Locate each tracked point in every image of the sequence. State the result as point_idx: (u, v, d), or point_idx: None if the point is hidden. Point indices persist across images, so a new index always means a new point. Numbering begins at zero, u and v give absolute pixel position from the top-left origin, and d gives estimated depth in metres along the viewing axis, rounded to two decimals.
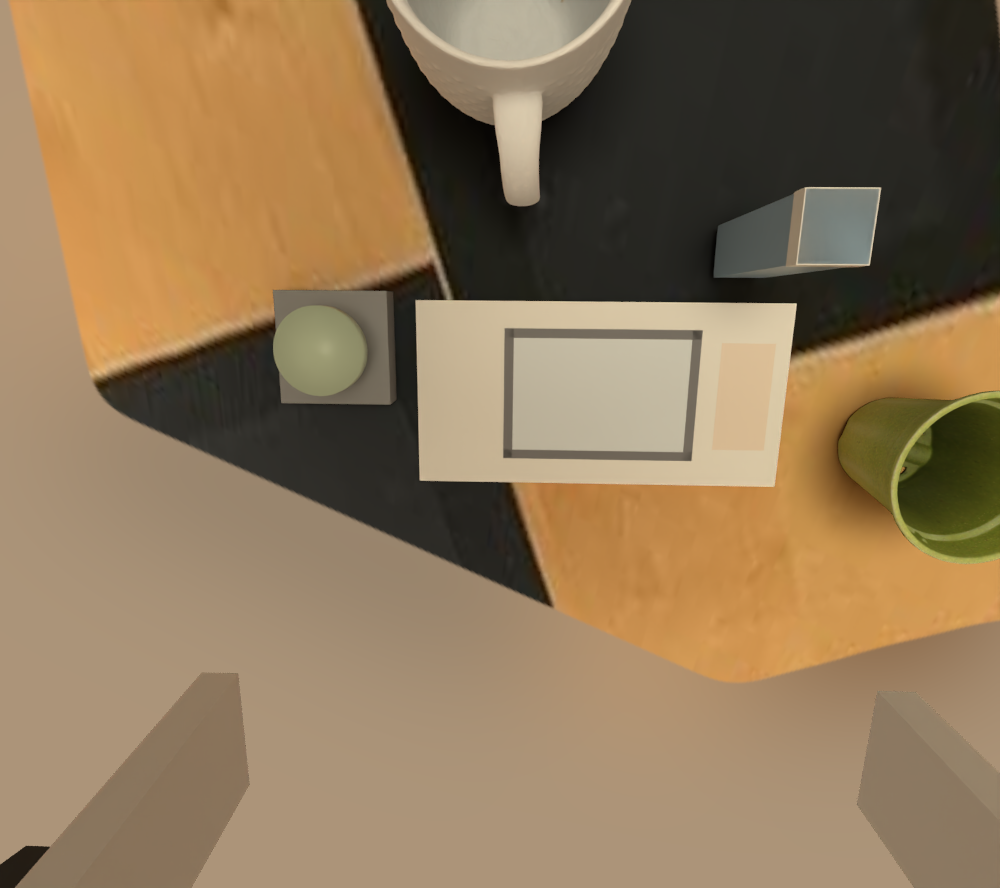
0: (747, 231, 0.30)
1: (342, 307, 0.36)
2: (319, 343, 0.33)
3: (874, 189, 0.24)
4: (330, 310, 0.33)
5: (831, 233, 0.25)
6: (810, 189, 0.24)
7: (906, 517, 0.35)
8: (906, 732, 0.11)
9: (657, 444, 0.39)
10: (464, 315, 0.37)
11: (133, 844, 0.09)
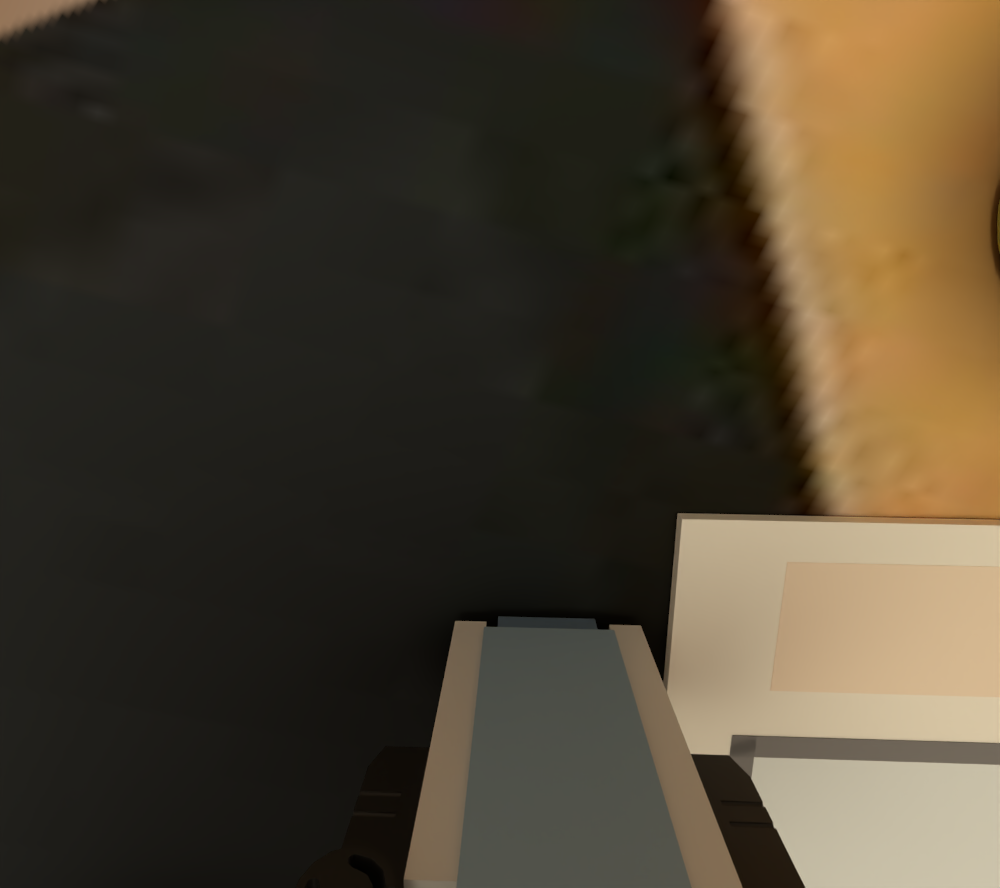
0: None
1: None
2: None
3: None
4: None
5: None
6: None
7: None
8: None
9: None
10: None
11: None
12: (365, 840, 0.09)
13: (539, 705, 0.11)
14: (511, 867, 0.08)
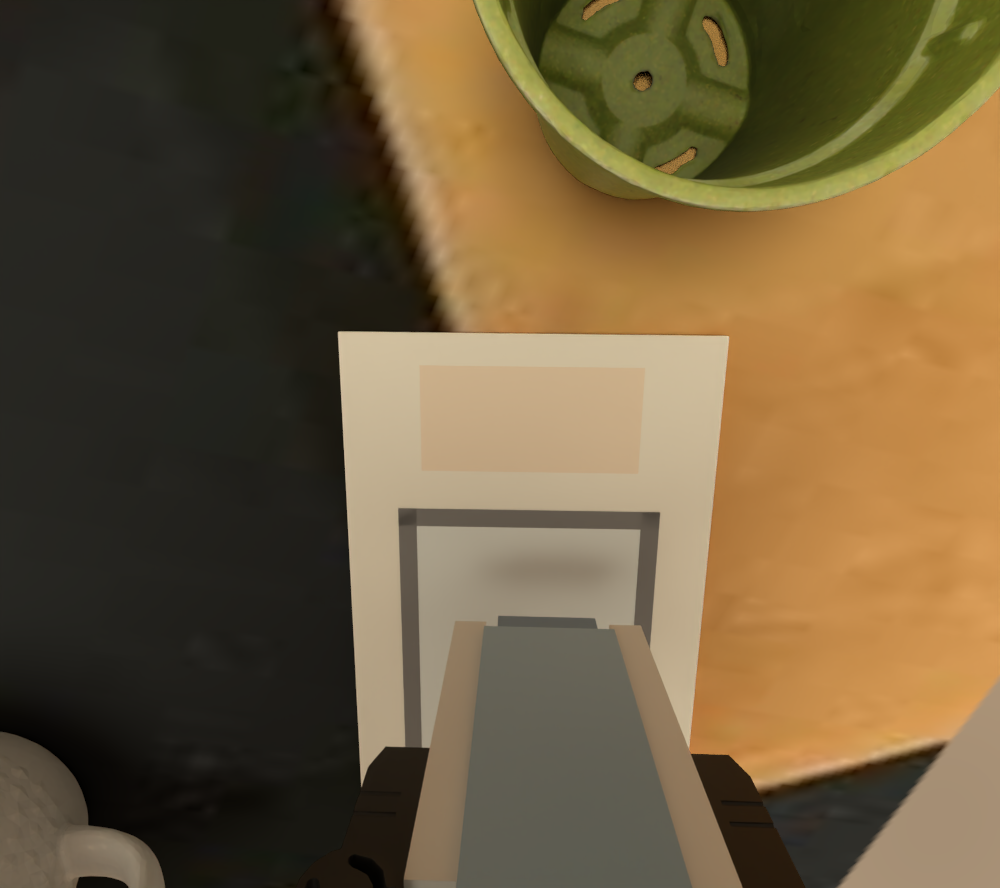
0: None
1: None
2: None
3: None
4: None
5: None
6: None
7: (857, 53, 0.12)
8: None
9: (622, 577, 0.20)
10: None
11: None
12: (365, 840, 0.09)
13: (539, 705, 0.11)
14: (511, 867, 0.08)
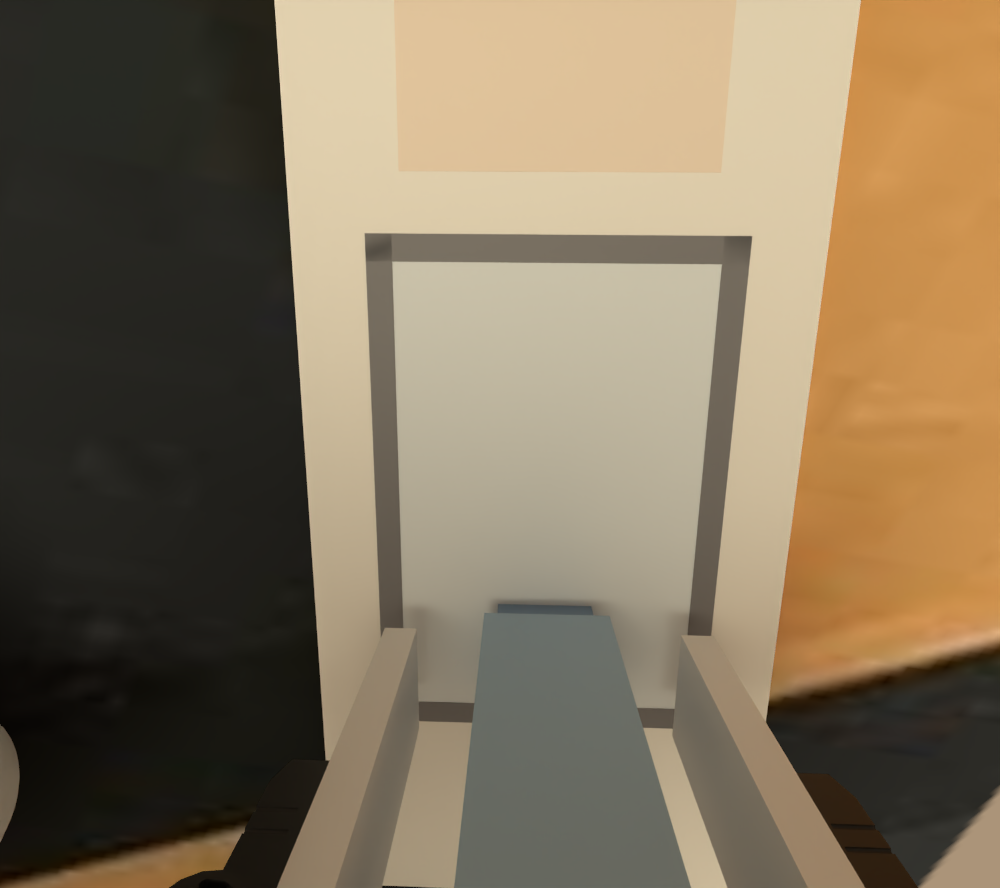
0: None
1: None
2: None
3: None
4: None
5: None
6: None
7: None
8: (692, 666, 0.13)
9: (692, 342, 0.13)
10: None
11: (385, 757, 0.10)
12: (250, 859, 0.09)
13: (536, 684, 0.11)
14: (509, 827, 0.08)
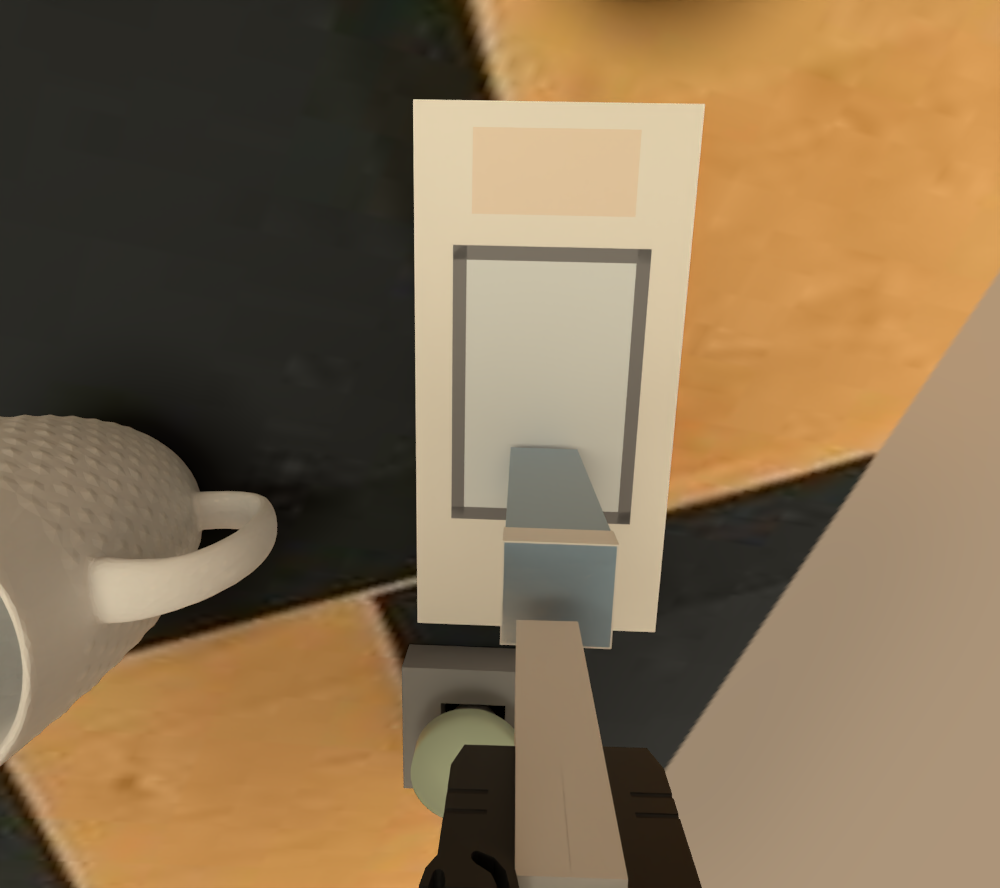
0: None
1: (423, 716, 0.29)
2: None
3: (504, 548, 0.16)
4: (416, 757, 0.26)
5: (567, 603, 0.16)
6: (503, 639, 0.16)
7: None
8: (548, 649, 0.13)
9: (622, 304, 0.26)
10: (435, 566, 0.29)
11: None
12: (461, 837, 0.09)
13: (538, 463, 0.24)
14: (528, 486, 0.20)
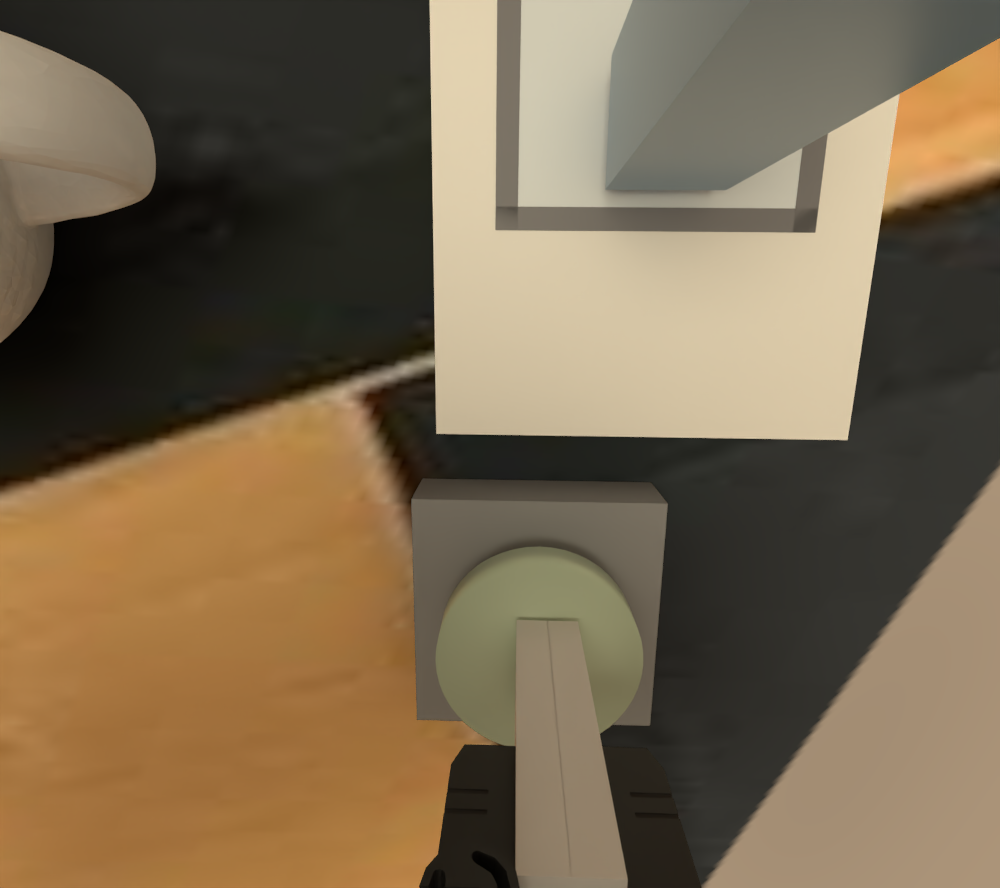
0: (705, 132, 0.10)
1: (449, 590, 0.17)
2: None
3: None
4: (446, 628, 0.14)
5: None
6: None
7: None
8: (548, 649, 0.13)
9: None
10: (467, 326, 0.16)
11: None
12: (462, 837, 0.09)
13: None
14: None
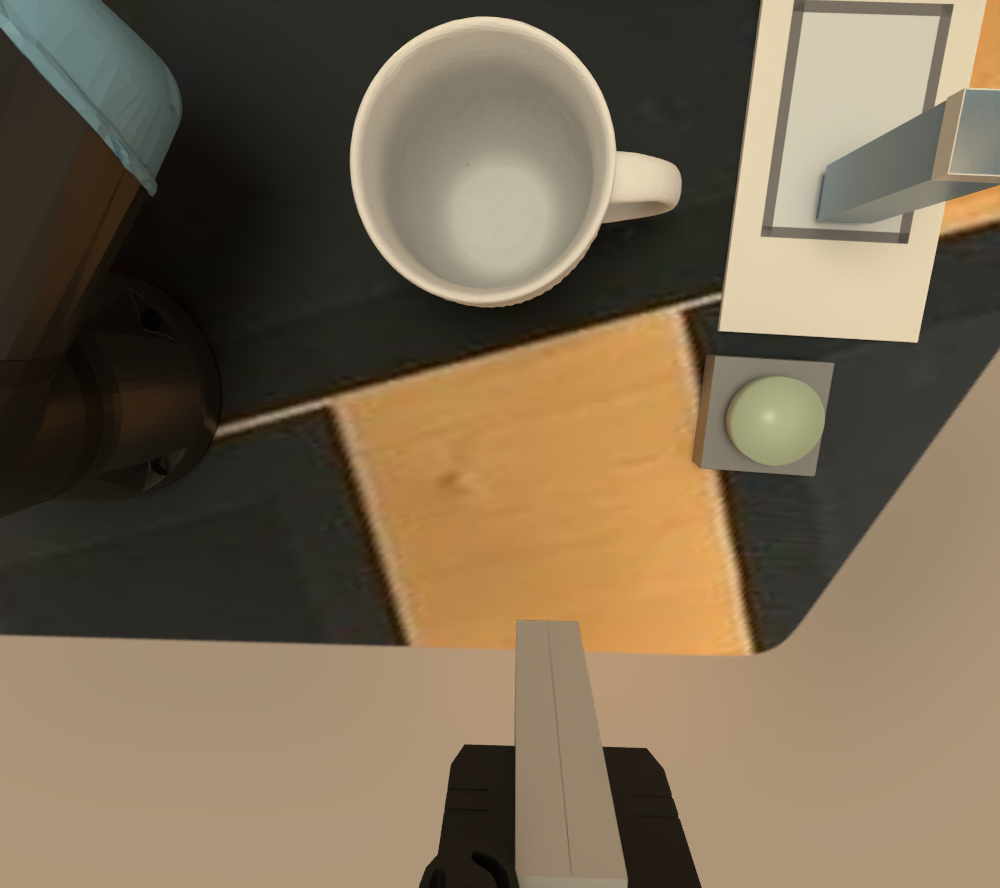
0: (883, 204, 0.29)
1: (726, 401, 0.36)
2: (770, 419, 0.34)
3: (964, 95, 0.22)
4: (740, 404, 0.34)
5: None
6: (951, 168, 0.23)
7: None
8: (548, 649, 0.13)
9: (924, 50, 0.33)
10: (741, 280, 0.36)
11: None
12: (461, 837, 0.09)
13: None
14: None
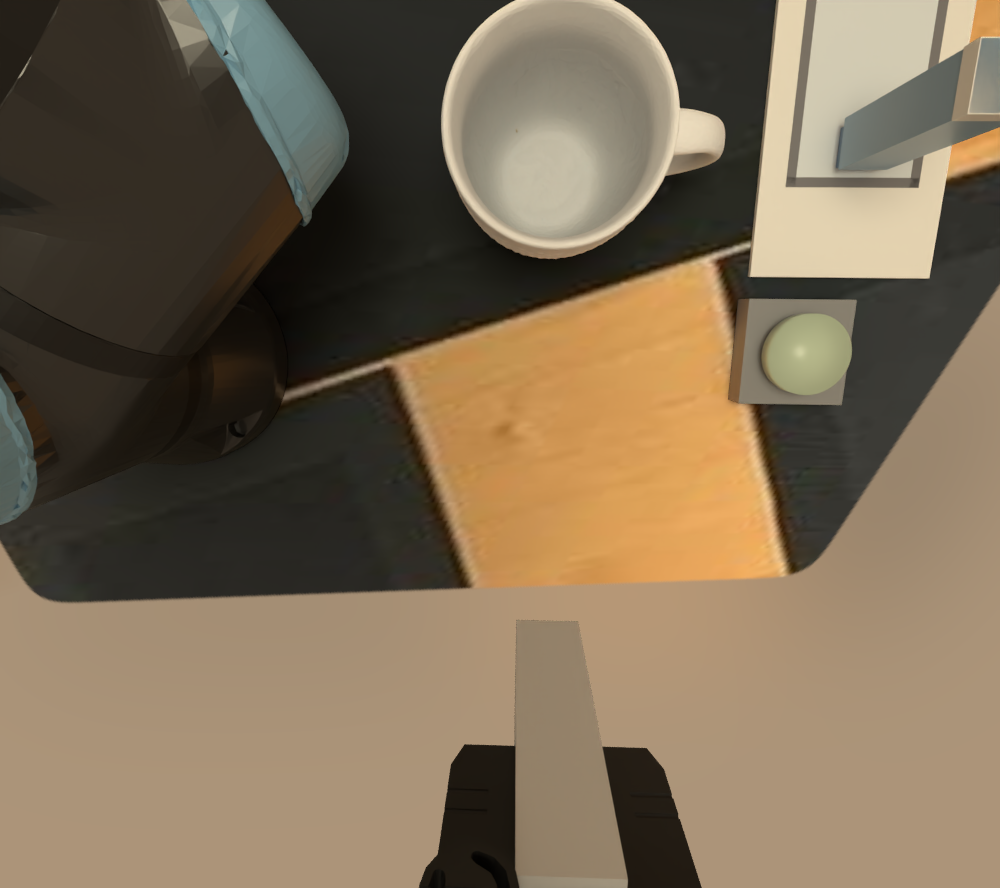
0: (902, 149, 0.32)
1: (760, 340, 0.39)
2: (803, 352, 0.37)
3: (980, 43, 0.26)
4: (775, 340, 0.37)
5: None
6: (971, 109, 0.26)
7: None
8: (548, 649, 0.13)
9: (928, 8, 0.36)
10: (769, 228, 0.39)
11: None
12: (461, 837, 0.09)
13: None
14: None
